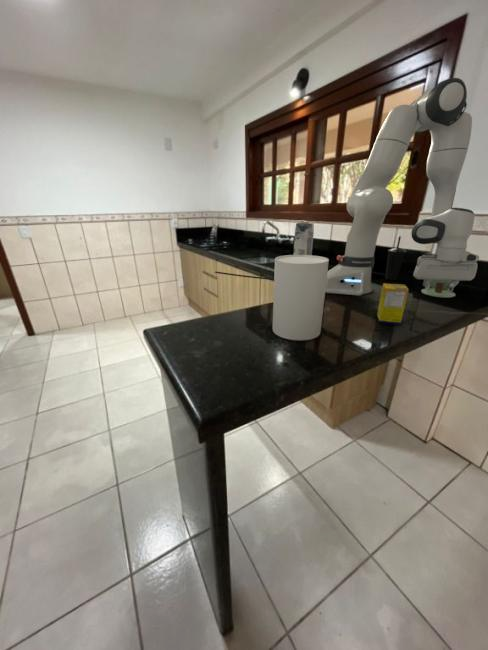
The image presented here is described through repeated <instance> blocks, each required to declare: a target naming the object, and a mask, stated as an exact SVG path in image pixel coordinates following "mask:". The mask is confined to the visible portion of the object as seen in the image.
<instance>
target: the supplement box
mask: <svg viewBox="0 0 488 650" xmlns="http://www.w3.org/2000/svg"><path fill="white" fill-rule="evenodd" d="M408 294H409V288H408V287H407V286H406V284H401V283H387V282H384V283H382V288H381V293H380V298H379V302H378V307H377V313H376V318H377V322H378V323H379V324H389V325H390V324H391V325H399V326H400V325H401V323H402V320H403V316H404V312H405V307H406V302H407V298H408Z"/></svg>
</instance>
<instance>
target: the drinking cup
mask: <svg viewBox="0 0 488 650" xmlns="http://www.w3.org/2000/svg"><path fill="white" fill-rule="evenodd" d="M401 238H402V236H401V235H400V236H398V241H397V246H396V247H392V248H390V249H388V250H387V261H386V269H385V276H384V277H385V280H388V281H396V280H398V279H397V278H398V275H399V273H400V270H401V266H402V263H403V261H404V257H405V255H406V253H407V250H405V249H403V248H401V247H400V242H401Z"/></svg>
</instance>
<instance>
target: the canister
mask: <svg viewBox="0 0 488 650" xmlns="http://www.w3.org/2000/svg"><path fill="white" fill-rule="evenodd" d="M329 262H330V259H329V258H328V257H325V256H319V255H313V254H312V255H294V254H287V255H279V256H276V257H275V258H274V273H273V274H274V276H273V278H274V280H273V298H272V299H273V300H272V301H273V302H272V303H273V304H272V307H273V308H272V328H271V330H272V332H273V333H274V334H275V335H276V336H277V337H279V338H282V339H286V340H290V341H309V340H313V339H315V338H318V337H319V336H320V335H321V331H322V324H323V323H322V322H323V315H324V314H323V313H324V306H325V305H324V303H325V299H326V298H325V296H326V293H325V289H326V280H327V272H328V271H329Z"/></svg>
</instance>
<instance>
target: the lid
mask: <svg viewBox="0 0 488 650" xmlns="http://www.w3.org/2000/svg"><path fill="white" fill-rule="evenodd" d="M444 284H445V283H444V282H437V285H436V288H435V289H433V288H432V290H431V291H427V290H425V288H422V289H421V291H420V293H422V294H424V295H426V296H430V297H435V298H443V299H444V298H445V299H447V298H448V299H449V298H455V297H456V293H455V292H453V291H446V289H443V287H444Z"/></svg>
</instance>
